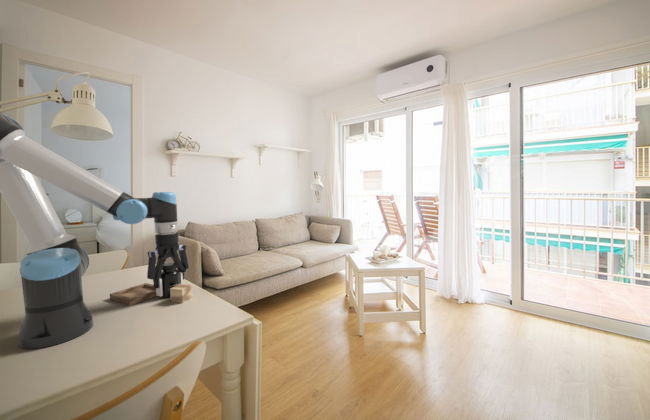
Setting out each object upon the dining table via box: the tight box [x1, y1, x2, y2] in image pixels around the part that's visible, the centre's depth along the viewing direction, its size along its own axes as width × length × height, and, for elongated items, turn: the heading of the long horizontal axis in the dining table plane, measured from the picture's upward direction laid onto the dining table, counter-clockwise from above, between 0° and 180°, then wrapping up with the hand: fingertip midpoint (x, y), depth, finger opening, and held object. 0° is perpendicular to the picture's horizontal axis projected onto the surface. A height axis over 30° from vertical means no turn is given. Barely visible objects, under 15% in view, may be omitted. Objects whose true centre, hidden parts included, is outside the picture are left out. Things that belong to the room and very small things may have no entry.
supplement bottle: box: [160, 262, 180, 299], centre depth 105 cm, size 7×7×12 cm
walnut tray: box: [109, 282, 157, 307], centre depth 104 cm, size 13×13×2 cm
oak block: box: [170, 283, 193, 304], centre depth 101 cm, size 5×5×5 cm
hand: (170, 291), depth 105 cm, fingers open, 8 cm apart
